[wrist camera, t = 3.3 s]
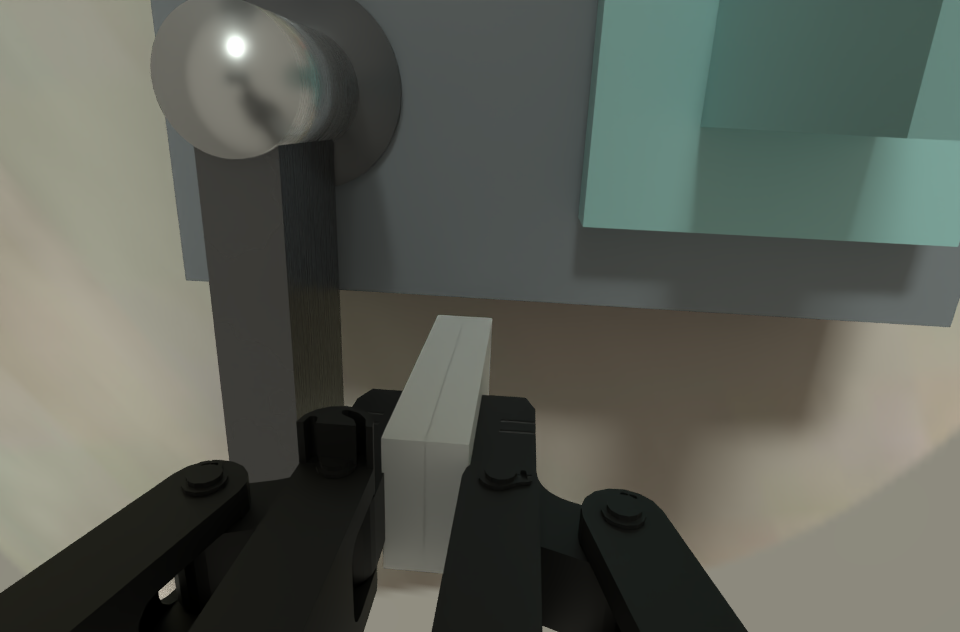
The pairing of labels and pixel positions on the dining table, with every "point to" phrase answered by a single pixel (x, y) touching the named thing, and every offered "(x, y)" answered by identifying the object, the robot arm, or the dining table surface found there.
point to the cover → (776, 119)
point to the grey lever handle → (263, 209)
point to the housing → (535, 181)
